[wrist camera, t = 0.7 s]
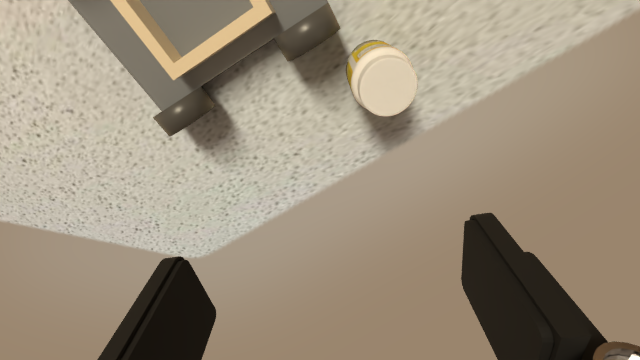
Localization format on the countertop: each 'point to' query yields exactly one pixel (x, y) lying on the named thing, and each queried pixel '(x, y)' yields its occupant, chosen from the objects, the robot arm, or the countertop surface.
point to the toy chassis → (199, 42)
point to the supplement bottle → (381, 78)
